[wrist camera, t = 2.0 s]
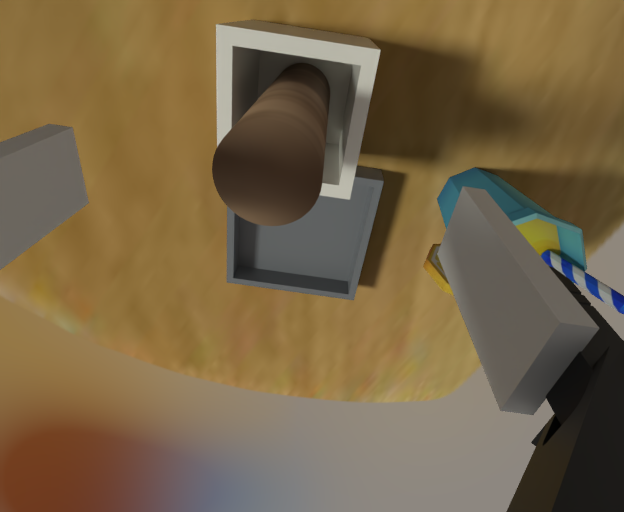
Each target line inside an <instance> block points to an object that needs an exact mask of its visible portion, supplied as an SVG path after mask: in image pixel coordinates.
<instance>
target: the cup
mask: <svg viewBox="0 0 624 512" xmlns="http://www.w3.org/2000/svg"><path fill="white" fill-rule="evenodd" d="M463 186H465V187H472V188H478V189H485V190H486V191H487V192H488V194H489V195H490V196H491V197H492V198H493V200H494V201H495V202H496V203H497V204H498V206H499V207H500V208H501V209H502V211H503V212H504V213H505V214H506V215H507V217H508V218H509V219H510V220H511V221H512V223H513V224H514V225H515V226H516V228H517V229H518V230H519V231H520V232H521V234H522V235H523V236H524V237H525V238H526V240H527V241H528V242H529V243H530V244H531V246H532V247H533V248H534V249H535V251H536V252H537V253H538V254H539V255H540V257H541V258H542V259H543V260H544V261H545V263H546V264H547V265H548V266H549V267H553V268H555V269H556V270H558V271H559V272H560V273H562V274H563V275H565V276H566V277H567V278H569V279H570V280H571V281H572V282H573V283H576V284H577V285H579V286H580V287H582V288H583V289H585V290H586V291H588V292H589V293H591V294H592V295H594V296H595V297H597V298H598V299H600V300H601V301H603V302H605V303H606V304H607V305H609V306H610V307H612V308H613V309H615V310H617V311H618V312H620V313H622V314H624V296H623V295H621V294H620V293H618V292H616V291H615V290H613V289H611V288H610V287H608V286H607V285H605V284H603V283H602V282H600V281H598V280H597V279H595V278H594V277H592V276H591V275H589V274H587V273H586V272H585V270H586V269H587V265H586V257H585V249H584V241H583V233H582V229H580V228H579V227H577V226H575V225H574V224H572V223H570V222H567V221H565V220H562V219H559V218H556V217H554V216H553V215H551V214H550V213H549V212H547V211H546V210H545V209H543V208H542V207H540V206H539V205H538V204H536V203H535V202H533V201H532V200H531V199H529V198H528V197H526V196H525V195H524V194H522V193H521V192H519V191H518V190H517V189H515V188H514V187H512V186H511V185H510V184H508V183H507V182H505V181H504V180H503V179H501V178H500V177H499V176H497V175H494V174H492V173H489V172H486V171H484V170H481V169H478V168H476V167H475V168H472V169H470V170H467V171H465V172H462V173H460V174H457V175H455V176H452V177H450V178H449V179H448V181H447V183H446V185H445V186H444V188H443V190H442V191H441V193H440V195H439V197H438V198H437V200H438V203H439V206H440V210H441V213H442V216H443V220H444V223H445V226H446V229H447V227H448V224H449V222H450V219H451V216H452V214H453V211H454V208H455V206H456V203H457V200H458V198H459V195H460V192H461V190H462V187H463ZM440 245H441V244H433V246H432V247H431V249H430V251H429V254H428V256H427V258H426V261H425V263H424V266H423V267H424V268H425V270H426V271H427V272H428V273H429V275H430V276H431V277H432V278H433V280H434V281H435V282H436V283H437V285H438V286H439V287H440V288H441V290H442V291H444V292H446V293H449V294H451V295H453V292H452V290H451V287H450V285H449V282H448V280H447V277H446V275H445V272H444V270H443V267H442V265H441V262H440V260H439V257H438V255H437V253H438V251H439V248H440ZM453 296H454V295H453Z"/></svg>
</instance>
